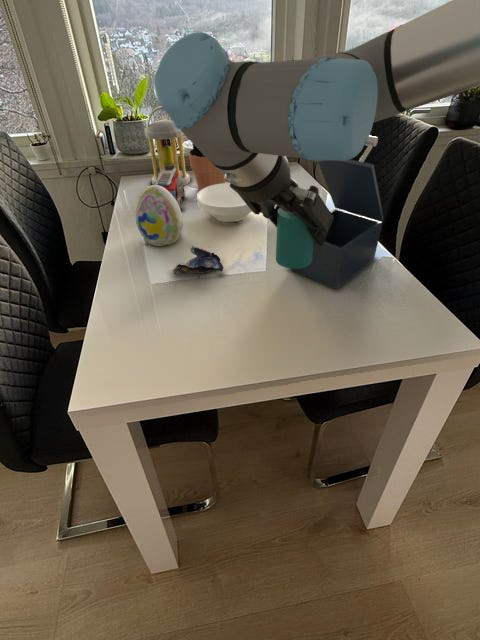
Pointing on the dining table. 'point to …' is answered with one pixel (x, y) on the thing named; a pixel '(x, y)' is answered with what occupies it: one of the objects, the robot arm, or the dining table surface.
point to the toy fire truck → (171, 184)
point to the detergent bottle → (293, 241)
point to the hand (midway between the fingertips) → (305, 233)
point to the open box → (343, 249)
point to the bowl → (222, 203)
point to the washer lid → (354, 184)
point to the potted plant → (204, 169)
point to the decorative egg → (158, 216)
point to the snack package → (200, 262)
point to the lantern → (166, 148)
